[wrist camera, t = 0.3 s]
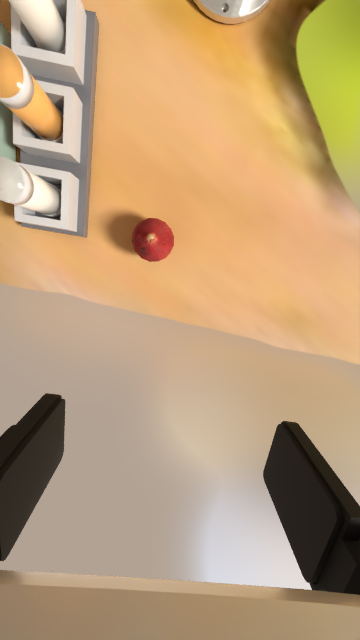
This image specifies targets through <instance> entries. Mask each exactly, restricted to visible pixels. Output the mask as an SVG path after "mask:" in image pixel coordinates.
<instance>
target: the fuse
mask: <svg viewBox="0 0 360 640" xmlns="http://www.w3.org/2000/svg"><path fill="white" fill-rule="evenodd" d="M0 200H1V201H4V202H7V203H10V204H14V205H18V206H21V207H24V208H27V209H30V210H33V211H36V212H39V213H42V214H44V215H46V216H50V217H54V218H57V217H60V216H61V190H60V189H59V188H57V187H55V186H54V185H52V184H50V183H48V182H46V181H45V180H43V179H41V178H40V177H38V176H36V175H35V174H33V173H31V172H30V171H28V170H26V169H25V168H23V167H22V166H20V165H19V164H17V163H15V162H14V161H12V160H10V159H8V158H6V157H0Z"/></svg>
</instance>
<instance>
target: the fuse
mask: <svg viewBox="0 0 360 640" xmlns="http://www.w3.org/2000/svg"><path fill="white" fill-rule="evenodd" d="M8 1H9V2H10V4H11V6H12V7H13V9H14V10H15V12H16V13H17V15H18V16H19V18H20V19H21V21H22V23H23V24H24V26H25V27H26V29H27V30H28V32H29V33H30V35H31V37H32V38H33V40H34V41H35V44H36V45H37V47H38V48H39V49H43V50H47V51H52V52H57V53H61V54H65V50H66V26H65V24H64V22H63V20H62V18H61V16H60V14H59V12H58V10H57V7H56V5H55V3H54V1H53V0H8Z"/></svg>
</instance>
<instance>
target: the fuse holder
mask: <svg viewBox="0 0 360 640" xmlns="http://www.w3.org/2000/svg"><path fill="white" fill-rule="evenodd" d="M53 1H54V3H55V5H56V7H57V10H58V12H59V14H60V16H61V18H62V20H63V22H64V24H65V26H66V50H65V54H61V53H57V52H52V51H47V50H43V49H39V48H38V47H37V45H36V44H35V41H34V40H33V38H32V37H31V35H30V33H29V32H28V30H27V29H26V27H25V26H24V24H23V23H22V21H21V19H20V18H19V16H18V15H17V13H16V12H15V10H14V9H13V7H12V6H11V48H12V51H13V52H14V53H15V54H16V55H17V56H18V58H19V59H20V60H21V61H22V63H23V64H24V65H25V67H26V68H27V69H28V71H29V72H30V74H31V75H32V76H33V78H34V79H35V80H36V82H37V83H38V84H39V85H40V87H41V88H42V89H43V91H44V92H45V93H46V94H47V96H48V97H49V98H50V100H51V101H52V102H53V103H54V105H55V106H56V107H57V108H58V109H59V110H60V112H61V113H62V114H63V116H64V119H63V144H61V143H56V142H50V141H45V140H43V139H41V138H40V137H39V136H38V135H37V133H35V132H34V131H33V130H32V129H31V128H30V127H29V126H28V125H27V124H25V123H24V122H23V121H22V120H21V119H20V118H19V117H18V116H17V115H16V114H14V113H13V144H14V145H16V146H17V147H19V148H20V163H18V162H15V163H17V164H19V165H20V166H22V167H23V168H25V169H26V170H28V171H30V172H31V173H33V174H35V175H36V176H38V177H40V178H41V179H43V180H45V181H46V182H48V183H50V184H52V185H54V186H55V187H57V188H59V189H60V190H61V216H60V217H57V218H54V217H50V216H46V215H44V214H42V213H39V212H36V211H33V210H30V209H27V208H24V207H21V206H18V205H14V217H15V221H18V222H21V226H23V227H27V228H33V229H39V230H45V231H51V232H57V233H63V234H69V235H75V236H81V237H87V229H88V211H89V193H90V176H91V158H92V140H93V123H94V105H95V87H96V69H97V52H98V34H99V23H98V19H97V16H96V13H95V12H92V11H87V10H84V7H83V4H82V1H81V0H53Z"/></svg>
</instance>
